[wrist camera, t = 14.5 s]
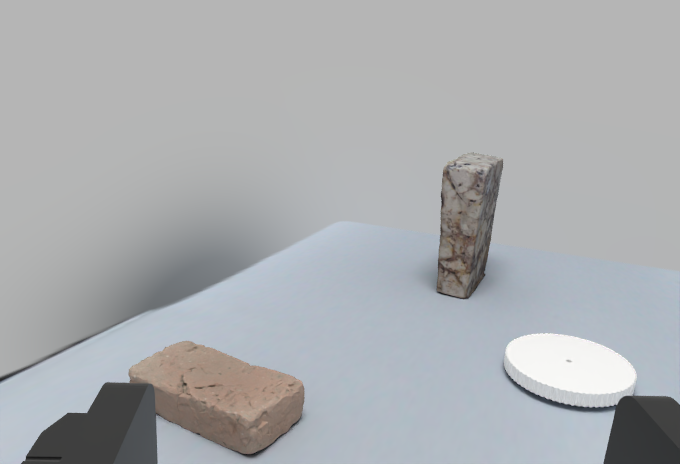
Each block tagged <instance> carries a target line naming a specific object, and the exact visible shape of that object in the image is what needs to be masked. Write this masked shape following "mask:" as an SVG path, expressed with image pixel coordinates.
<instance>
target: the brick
mask: <svg viewBox="0 0 680 464" xmlns="http://www.w3.org/2000/svg"><path fill="white" fill-rule="evenodd" d="M129 377H130V379H131V380H130V383H151V384H152V385H153V387H154V391H155V408H156V414H159V416H161V417H163V418H164V419H166V420H168V421H171V422H173V423H175V424H178V425H180V426H182V427H183V428H185V429H187V430H190V431H192V432H194V433H200V435H201V436H202V437H204V438H206V439H208V440H211V441H213V442H215V443H217V444H220V445H222V446H224V447H226V448H228V449H232V450H234V451H238V452H240V453H243V454H253V453H255V452H257V451H260V450H262V449H264V448H265V447H267V446H269V445H270V444H272V443H273V442H274V441H275V439H276V438H278V437H279V436H280V435H281V434H284V433H286V432H287V431H288V430H289V429H290V427H291V426H292V425H293V424H294V423H296V422H297V421H298V420H299V419H300V417H301V415H302V410H303V404H304V386H303V384H302V381H300V380H298V379H296V378H295V377H293V376H290V375H287V374H284V373H281V372H278V371H275V370H270V369H267V368H265V367H259V366H250V365H249V364H248V363H246V362H243V361H241V360H239V359H237V358H234V357H232V356H229V355H227V354H225V353H222V352H220V351H217V350H215V349H213V348H209V347H205V346H203V345H197V344H194V343H193V342H190V341H183V342H179V343H176V344H173V345H170V346H169V347H165V348H164V350H163V351H162V352H157V353H155V354H154V355H153V356H151V357H147V358H146V359H144V360H142V361H141V362H140V363H138V364H136V365H134V366H132V367H131V368H130V369H129Z"/></svg>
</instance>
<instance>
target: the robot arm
mask: <svg viewBox="0 0 680 464" xmlns="http://www.w3.org/2000/svg"><path fill="white" fill-rule="evenodd" d="M21 464H157V435H156V408H155V391H154V387H153V385H152V384H151V383H108V382H107V383H105V384H104V385H103V386H102V388H101V390H100V391H99V393H98V395H97V397H96V398H95V400H94V402H93V404H92V405H91V407H90V409H89V411H88V412H87V413H67V414H66V415H65V416H63V417H62V418H61V419H59V420H58V421H57V422H55V423H54V424H53V425H51V426H50V427H48V428H47V429H46V430H44V431H43V432H42V433H41V434H40V436H39V437H38V439H37V440H36V442H35V443H34V445H33V447H32V448H31V450H30V451H29V453H28V454H27V456H26V460H25V461H23V462H22V463H21ZM604 464H680V405H679V404H678V403H677V402H676V401H675V400H674V399H672V398H671V397H666V396H624V397H622V398H621V399H620V400H619V402H618V404H617V407H616V411H615V415H614V420H613V424H612V428H611V433H610V437H609V442H608V446H607V451H606V455H605V459H604Z"/></svg>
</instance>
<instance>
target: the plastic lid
mask: <svg viewBox="0 0 680 464" xmlns="http://www.w3.org/2000/svg"><path fill="white" fill-rule="evenodd" d="M626 360H627V359H625V358H623V356H620V354H618V353H616V352H615V351H612V350H611V349H608V348H607V347H605V346H602V345H601V344H597V343H594V342H592V341H588V340H586V339H582V338H577V337H571V336H566V335H560V334H550V333H548V334H545V333H543V334H540V333H538V334H533V335H532V334H529V335H525V336H522V337H518V338H515V340H512V341H511V342H510V343H509V344H508V345H507V347H506V350H505V357H504V367H505V370H507V371H506V372H507V373H508V375H509V376H511V378H512V379H514V381H515V382H517V384H520V385H521V387H525V389H526V390H530V392H534V393H535V394H536V395H540V396H541V397H545V398H546V399H551V400H552V401H558V402H559V403H564V404H570V405H572V406H574V405H577V406H579V407H580V406H583V407H586V406H588V407H596V408H597V407H604V406H606V407H609V406H610V405H611V406H614V404H616V405H617V404H618V402H619V400H620V399H621V398H622V397H624V396H632V395H633V393H634V388H635V383H636V379H637V375H636V372H635V369H634V367H632V364H629V361H626Z"/></svg>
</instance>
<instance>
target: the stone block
mask: <svg viewBox="0 0 680 464" xmlns="http://www.w3.org/2000/svg"><path fill="white" fill-rule="evenodd" d="M502 168H503V159H502V158H498V157H493V156H488V155H482V154H477V153H468V154H464V155H462V156H461V157H459V158H457V159H455V160H452V161H449V162H448V163H447V164H446V165H445V167H444V170H443V179H442V191H441V199H442V206H441V235H440V246H439V258H438V281H437V291H439V292H442V293H444V294H448V295H452V296H455V297H459V298H463V299H464V298H469V297H470V296H471V294H472V293H473V292H474V291H475V289H476V288H477V286H478V284H479V283H480V281H481V280H482V279H483V277H484V276H485V274H484V271H485V266H486V262H487V257H488V251H489V245H490V241H491V232H492V225H493V220H494V212H495V207H496V200H497V196H498V190H499V185H500V179H501V174H502Z"/></svg>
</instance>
